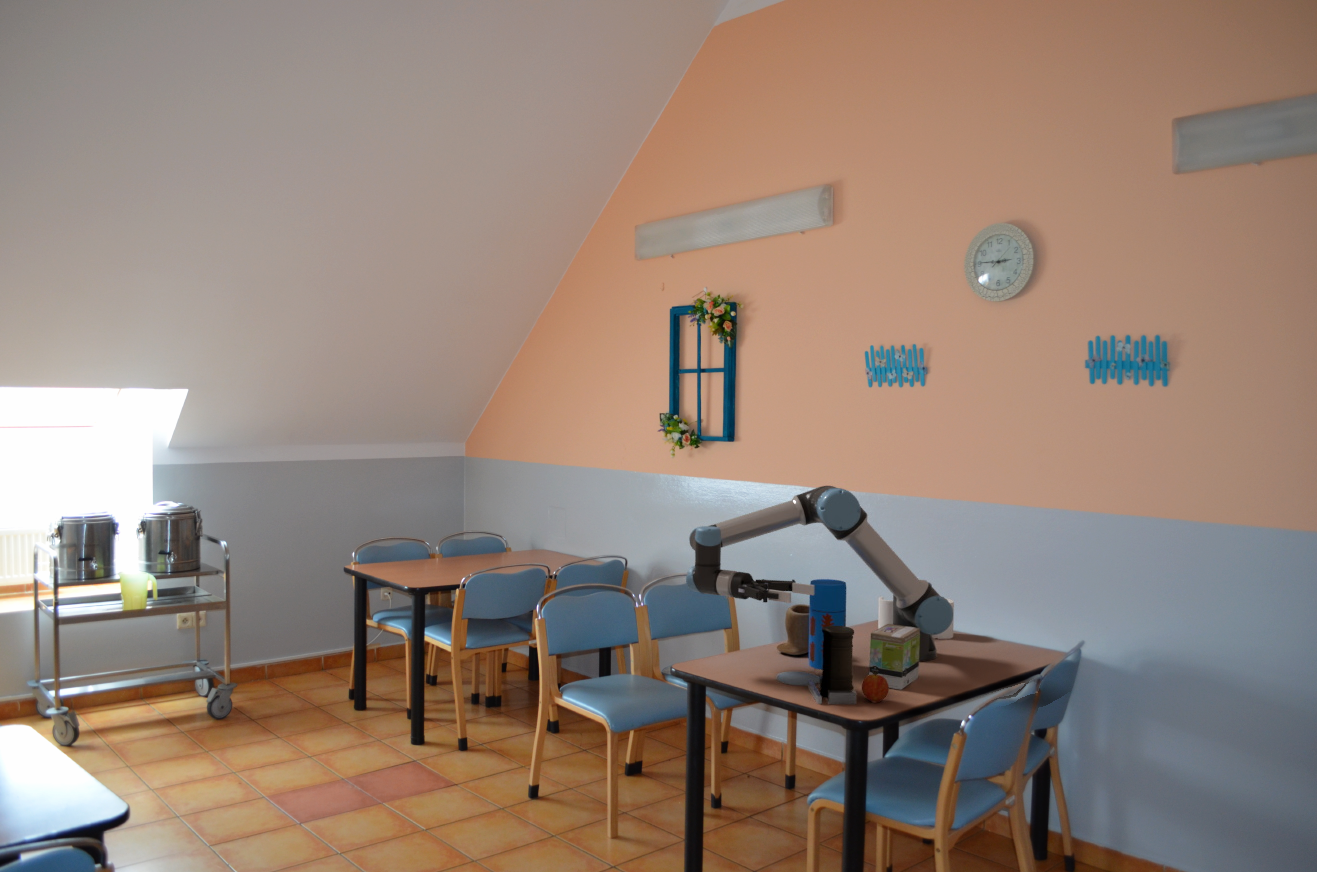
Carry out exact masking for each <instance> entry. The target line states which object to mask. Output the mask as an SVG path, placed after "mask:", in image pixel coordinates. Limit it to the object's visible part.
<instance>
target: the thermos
mask: <svg viewBox="0 0 1317 872" xmlns="http://www.w3.org/2000/svg"><path fill="white" fill-rule="evenodd" d="M809 585H814V595H809V604H808V605H809V652H808V664H809V667H811V668H814V669H816V670H820V669H821V671H823V642H824V638H823V632H822V629H823V627H826V626H845V627H847V626H846V625H847V622H846V621H847V582H845V581H843V580H838V579H829V578H827V579H826V578H825V579H824V578H821V579H820V578H819V579H813V580H810V584H809Z"/></svg>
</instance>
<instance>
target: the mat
mask: <svg viewBox="0 0 1317 872" xmlns="http://www.w3.org/2000/svg"><path fill="white" fill-rule="evenodd" d="M776 680H777V682H779V683H783V684H785V685H790V686H803V687H805V686H808V680H812V681H813V683H814V685H816V684H819V676H818V675H816V674H814V673H812V672H811V673H810V672H806V671H792V670H791V671H784V672H780V673H778V674H777V675H776Z"/></svg>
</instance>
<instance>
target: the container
mask: <svg viewBox="0 0 1317 872" xmlns="http://www.w3.org/2000/svg"><path fill="white" fill-rule="evenodd" d="M822 632H823V638H824V642H823V670H822V674H821V676H822V684H821V686H820V687H821V688H822V689H819V690H820V691H819V693H820V695H821V696H822V698H824V699H827V700H828V690H836V691H854V688H855V687H854V684H853V680H854V679H853V678H854V677H853V647H854V644H853V639H854V634H855V631H854V629H853V628H852V627H849V626H846V627H845V626H826V627H823V629H822Z"/></svg>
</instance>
